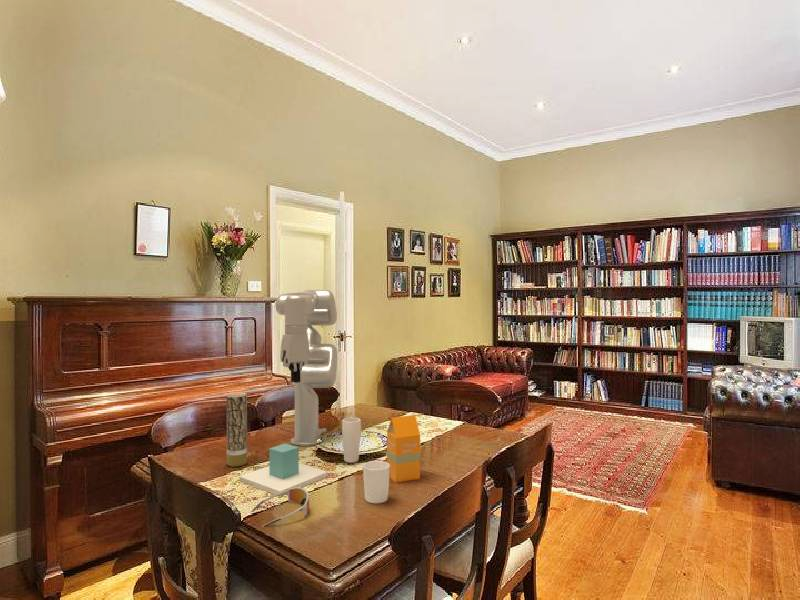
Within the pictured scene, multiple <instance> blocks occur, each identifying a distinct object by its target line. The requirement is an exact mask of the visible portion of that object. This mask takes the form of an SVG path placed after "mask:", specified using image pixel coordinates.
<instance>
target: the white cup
mask: <svg viewBox="0 0 800 600" xmlns="http://www.w3.org/2000/svg"><path fill="white" fill-rule="evenodd" d="M362 468H363V469H362V470H363V471H362V472H363V487H364V488H363V489H364V500H365V501H366V502H367V503H370V504H382V503H385V502H387V501H388V499H389V487H390V477H389V473H390V464H389V463H387V461H385V460H370V461H368V462H365V463H363V465H362Z"/></svg>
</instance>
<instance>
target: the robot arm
mask: <svg viewBox="0 0 800 600" xmlns="http://www.w3.org/2000/svg"><path fill="white" fill-rule="evenodd" d="M274 306H275V310H276V313H277V314H278V315H280V316H284V334H282V337H281V342H280V343H281V344H280V352H279V353H280V358H279V359H280V362H281V363H282V366H283V367H284V368H287V369H288V370H289V372H290V382H291V383H293V389H294V390H293V391H294V392H293V393H294V436H293V437H292V438H291V439H290V444H291V445H293V446H297V447H299V446H300V447H303V446H304V447H308V446H309V447H310V446H315V445H318V444H317V440H318V439H320V438H321V437H322V434H324V433H327V428H326V427H322V428H319V395H318V394H317V393H316V391H315V390H314V389H315V388H319V389H320V388H322V389H323V388H324V389H326V388H333V386H334V385H335V383H336V379H337V370H338V369H337V368H338V367H337V366H338V349H337V347H336V346H335V345H334V344H333V343H322V336H321V334H320V332H318V330H317V329H316V328H314V327H313V326H326V327H327V326H333V325H335V324H336V322H337V320H338V315H337V314H338V312H337V307H336V306H337V305H336V299H335V296H334V294H333V292H332V291H331V290H330V289H306V290H304V291H296V292H291V293H290V292H289V293H282V294H279V295H278V296H277V298H276V300H275V305H274Z"/></svg>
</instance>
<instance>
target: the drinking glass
mask: <svg viewBox="0 0 800 600" xmlns="http://www.w3.org/2000/svg"><path fill="white" fill-rule="evenodd" d="M361 422H362V421H361V418H360V417H356V416H355V417H352V416H351V417H345V418H343V419H342V423H341V436H342V448H343V461H344V462H345V463H350V464H353V463H357V462H358V461H359V459H360V447H361V446H360V444H361V435H362V433H361V432H362V423H361Z"/></svg>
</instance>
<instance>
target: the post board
mask: <svg viewBox="0 0 800 600" xmlns="http://www.w3.org/2000/svg"><path fill="white" fill-rule="evenodd" d="M328 476H329V471H326V470H322V469H319V468H316V467H314V466H310V465H306V464H303V463H299V473H298V474H296V475H293V476H291V477H288V478H285V479H280V478H277V477H274V476H271V475H269V465H268V466H265V467H263V468H262V467H261V468H259V469H256V470H253V471H250V472H248V473H244V474H243V475H242V474H241V475H240V476H239V477H238V481H239V482H241V483H244V484H247V485H248V486H251V487H255V488H257V489H259V490H261V491H265V492H267V493H270V494H273V495H275V494H278V493H280V492H283V491H286V490H288V489H290V488H296V487H301V488H304V487H306V486H309V485H312V483H315V482H317V481H320V480H323V479H325V478H328ZM284 495H286V494H284ZM284 495H283V496H284Z"/></svg>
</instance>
